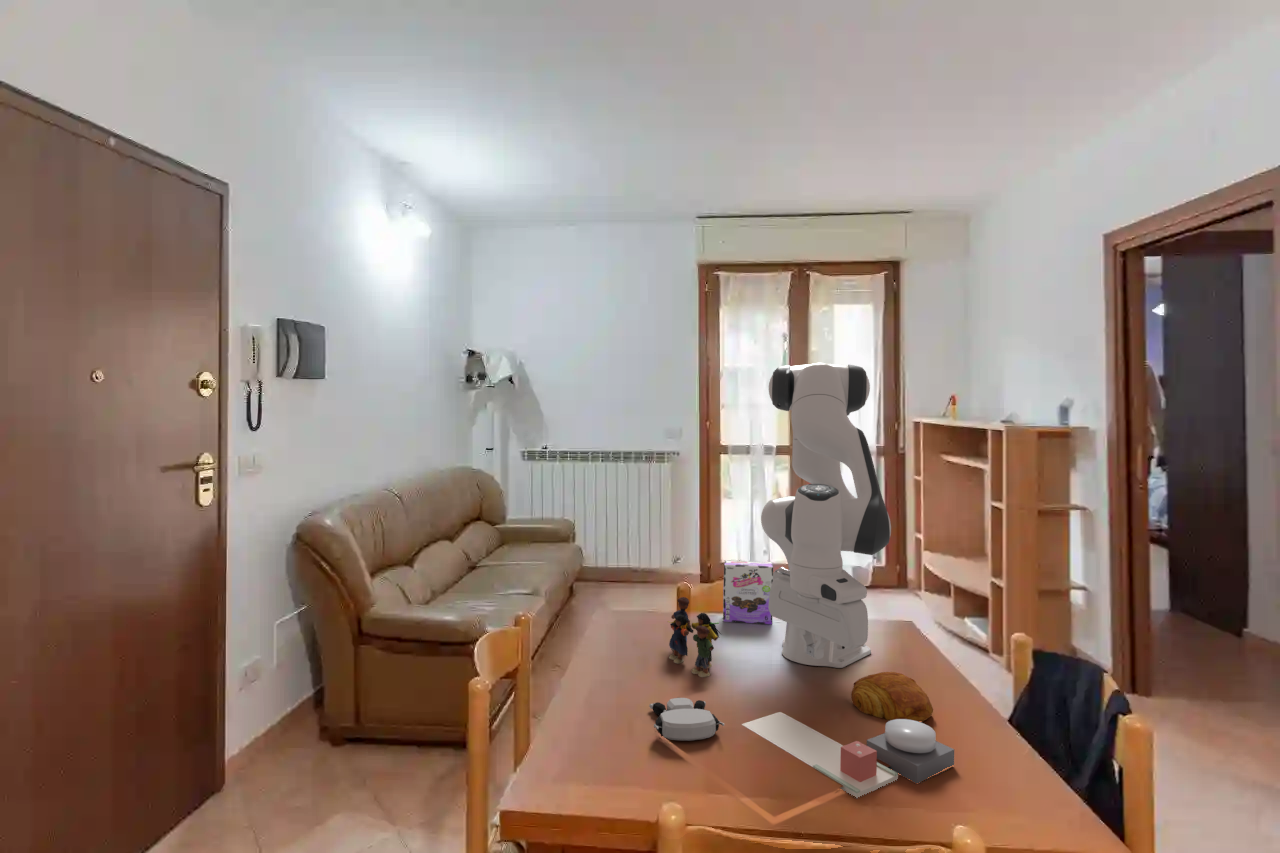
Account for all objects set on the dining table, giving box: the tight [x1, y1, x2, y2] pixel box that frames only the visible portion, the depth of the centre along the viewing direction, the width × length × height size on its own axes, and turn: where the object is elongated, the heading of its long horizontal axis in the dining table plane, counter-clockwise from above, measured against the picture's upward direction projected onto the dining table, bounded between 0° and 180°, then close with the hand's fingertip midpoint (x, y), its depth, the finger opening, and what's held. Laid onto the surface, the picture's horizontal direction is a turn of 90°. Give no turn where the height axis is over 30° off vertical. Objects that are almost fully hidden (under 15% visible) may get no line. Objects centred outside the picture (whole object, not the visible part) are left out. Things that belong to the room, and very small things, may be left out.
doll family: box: [667, 596, 723, 678], centre depth 163 cm, size 23×9×13 cm, turn 35°
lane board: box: [740, 711, 899, 799], centre depth 119 cm, size 13×27×1 cm, turn 33°
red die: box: [840, 740, 878, 782], centre depth 112 cm, size 4×4×4 cm
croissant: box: [850, 671, 934, 722], centre depth 137 cm, size 14×16×8 cm
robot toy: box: [648, 697, 725, 741], centre depth 128 cm, size 12×4×15 cm
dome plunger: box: [884, 719, 937, 753], centre depth 117 cm, size 8×8×4 cm
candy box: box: [722, 559, 774, 625], centre depth 193 cm, size 14×6×16 cm, turn 81°
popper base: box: [866, 732, 955, 784], centre depth 117 cm, size 10×10×3 cm
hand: (813, 655), depth 120 cm, fingers closed
